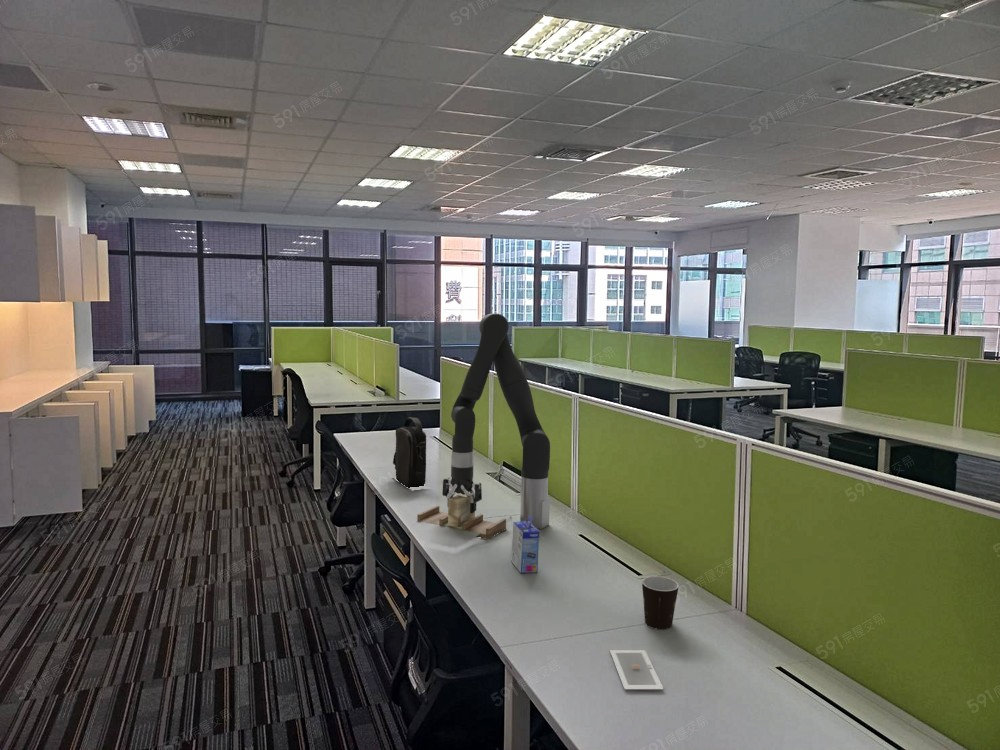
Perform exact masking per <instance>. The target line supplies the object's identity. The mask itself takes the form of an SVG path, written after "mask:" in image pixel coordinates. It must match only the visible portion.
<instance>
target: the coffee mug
mask: <svg viewBox="0 0 1000 750" xmlns="http://www.w3.org/2000/svg"><path fill="white" fill-rule="evenodd" d="M641 586H642V587H641V588H642V599H643V600H642V601H643V603H642V604H643V613H644V623H645V624H647V625H646V626H647V627H649V626H650V628H651V627H653V628H652V629H654V628H657V629H656V630H668V629H670V628H672V626H673V622H674V621H673V620H674V614H675V609H676V604H677V598H678V591H679V583H678V582H677V581H676V580H674V579H672V578H669V577H666V576H660V575H656V576H655V575H652V576H647V577H644V578H643V579H642V580H641ZM667 628H668V629H667Z"/></svg>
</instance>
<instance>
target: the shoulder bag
mask: <svg viewBox="0 0 1000 750" xmlns="http://www.w3.org/2000/svg"><path fill="white" fill-rule="evenodd" d="M412 422H413V424H414V426H411V423H412ZM392 464H393V465H394V470H395V477H396V479H397V480H398V481H399V482H400V483H402V484H403V485H405V486H406V487H408V488H410V487H419V486H424V484H426V473H427V434H426V432H425V431H424V430H423V425H422V422H421V421H420V419H419V418H418V417H411V416H410V417H407V418H406V419H405V420H404V423H403V426H402V427H399V428H396V429H395V452H394V454H393V460H392ZM400 483H399V484H400ZM403 485H402V486H403ZM406 487H405V488H406Z"/></svg>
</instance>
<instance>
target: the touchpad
mask: <svg viewBox="0 0 1000 750" xmlns="http://www.w3.org/2000/svg"><path fill="white" fill-rule="evenodd" d="M609 651H610V654H611V657H612V660H613V663H614V665H615V667H616V670H617V672H618V675H619V678H620V681H621V683H622V685H623V688H624V690H664V687H663V685H662V682H661V681H660V678H659V676H658V674H657V672H656V670H655V668H654V666H653V664H652V662H651V660H650V658H649V655H648V653H647V651H646V650H645V649H644V650H643V649H642V650H640V649H639V650H636V649H635V650H633V649H632V650H629V649H628V650H627V649H626V650H625V649H624V650H622V649H621V650H619V649H618V650H614V649H612V650H611V649H610V650H609Z"/></svg>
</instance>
